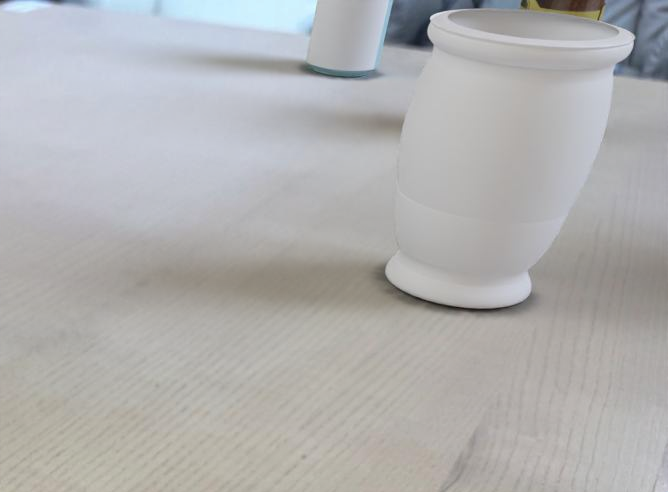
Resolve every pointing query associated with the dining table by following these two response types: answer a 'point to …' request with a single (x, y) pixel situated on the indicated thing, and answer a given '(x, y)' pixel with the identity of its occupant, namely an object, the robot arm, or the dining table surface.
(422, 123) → the jar
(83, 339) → the dining table surface
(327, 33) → the can
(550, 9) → the sauce bottle
